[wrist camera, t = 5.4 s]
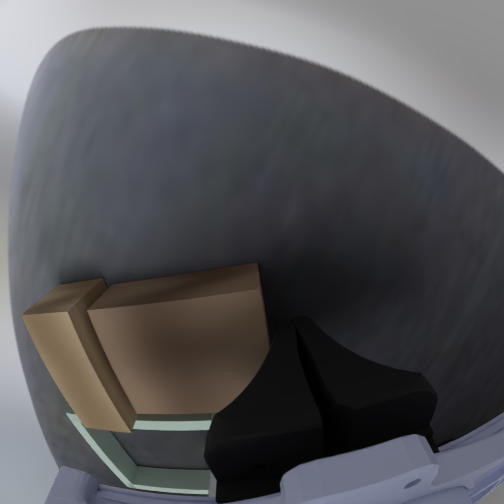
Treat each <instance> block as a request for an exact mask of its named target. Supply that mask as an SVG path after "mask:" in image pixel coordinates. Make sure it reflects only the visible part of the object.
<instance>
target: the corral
mask: <svg viewBox="0 0 504 504" xmlns="http://www.w3.org/2000/svg"><path fill="white" fill-rule="evenodd" d="M66 414H67V416H68V417H69V418H70V420H71V421H72V423H73V424H74V425H75V427H76V428H77V429H78V431H79V432H80V433H81V435H82V436H83V437H84V438H85V440H86V441H87V442H88V443H89V445H90V446H91V447H92V448H93V449H94V451H95V452H96V453H97V454H98V455H99V457H100V458H101V459H102V460H103V461H104V462H105V463H106V465H107V466H108V467H109V468H110V469H111V470H112V471H113V472H114V473H115V474H116V475H117V476H118V477H119V478H120V480H121V481H122V482H123V483H124V484H125V485H126V486H127V487H131V488H138V489H145V490H153V491H162V492H174V493H190V494H208V490H209V479H210V470H184V469H164V468H151V467H141V466H137V465H136V464H135V463H134V462H133V460H132V459H131V458H130V457H129V455H128V454H127V453H126V452H125V450H124V449H123V448H122V446H121V445H120V444H119V442H118V441H117V440H116V438H115V437H114V436H113V434H112V433H111V431H108V430H100V429H93V428H86V427H85V426H84V425H83V424H82V422H81V421H80V419H79V418H78V417H77V415H76V414H75V412H74V411H73V409H72V408H71V406H69V408H68V410H67V412H66ZM215 414H216V413H200V414H138V416H137V419H136V421H135V424H134V427H133V429H146V430H209V428H210V425H211V422H212V419H213V417H214V415H215Z"/></svg>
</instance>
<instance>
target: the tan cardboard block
mask: <svg viewBox="0 0 504 504" xmlns="http://www.w3.org/2000/svg"><path fill="white" fill-rule="evenodd" d="M87 312H88V314H89V317H90V319H91V322H92V324H93V326H94V329H95V331H96V334H97V336H98V338H99V340H100V343H101V345H102V347H103V349H104V351H105V354H106V356H107V358H108V360H109V362H110V364H111V366H112V368H113V370H114V372H115V374H116V376H117V378H118V380H119V382H120V384H121V386H122V388H123V389H124V391H125V393H126V395H127V397H128V399H129V400H130V402H131V404H132V406H133V407H134V409H135V411H136V412H137V414H200V413H218V412H220V411H221V410H222V409H224V408H225V407H226V406H227V405H229V404H230V403H231V402H232V401H233V400H234V399H235V398H236V397H237V396H238V395H239V394H240V393H241V392H242V391H243V390H244V389H245V388H246V387H247V385H248V384H249V383H250V382H251V380H252V379H253V378H254V376H255V375H256V373H257V372H258V370H259V369H260V367H261V365H262V363H263V362H264V360H265V357H266V355H267V353H268V351H269V349H270V346H271V343H270V337H269V331H268V324H267V318H266V312H265V306H264V300H263V294H262V288H261V281H260V275H259V269H258V263H251V264H245V265H238V266H232V267H225V268H219V269H212V270H206V271H199V272H193V273H186V274H180V275H173V276H166V277H159V278H153V279H146V280H139V281H132V282H125V283H118V284H112V285H111V286H110V287H109V288H108V289H107V290H106V291H105V292H104V293H103V294H102V295H101V296H100V297H99V298H98V299H97V300H96V301H95V302H94V303H93V305H92V306H91V307H90V308H89V309H88V310H87Z"/></svg>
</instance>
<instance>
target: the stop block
mask: <svg viewBox="0 0 504 504" xmlns="http://www.w3.org/2000/svg"><path fill="white" fill-rule="evenodd" d="M106 290H107V287H106V284H105V281H104V278H99V279H93V280H86V281H80V282H73V283H67V284H60V285H58V286H57V287H56V288H54V289H53V290H52V291H50V292H49V293H48V294H47V295H45V296H44V297H43V298H42V299H40V300H39V301H38V302H37V303H35V304H34V305H33V306H32V307H31V308H29V309H28V310H27V311H26V312H25V313H23V314H22V318H23V320H24V322H25V324H26V327H27V329H28V331H29V333H30V335H31V338H32V340H33V342H34V344H35V346H36V348H37V350H38V352H39V354H40V356H41V357H42V359H43V361H44V363H45V365H46V367H47V369H48V370H49V372H50V374H51V376H52V377H53V379H54V381H55V383H56V384H57V386H58V388H59V389H60V391H61V392H62V394H63V396H64V397H65V399H66V400H67V402H68V403H69V405H70V406H71V408H72V409H73V411H74V412H75V414H76V415H77V417H78V418H79V419H80V421H81V422H82V424H83V425H84V426H85V427H86V428H93V429H100V430H108V431H117V432H128V433H132V430H133V427H134V424H135V421H136V419H137V416H138V414H137V412H136V411H135V409H134V407H133V406H132V404H131V402H130V400H129V399H128V397H127V395H126V393H125V391H124V389H123V388H122V386H121V384H120V382H119V380H118V378H117V376H116V374H115V372H114V370H113V368H112V366H111V364H110V362H109V360H108V358H107V356H106V354H105V351H104V349H103V347H102V345H101V343H100V340H99V338H98V336H97V334H96V331H95V329H94V326H93V324H92V322H91V319H90V317H89V314H88V312H87V310H88V309H89V308H90V307H91V306H92V305H93V303H94V302H95V301H96V300H97V299H98V298H99V297H100V296H101V295H102V294H103V293H104V292H105V291H106Z"/></svg>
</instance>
